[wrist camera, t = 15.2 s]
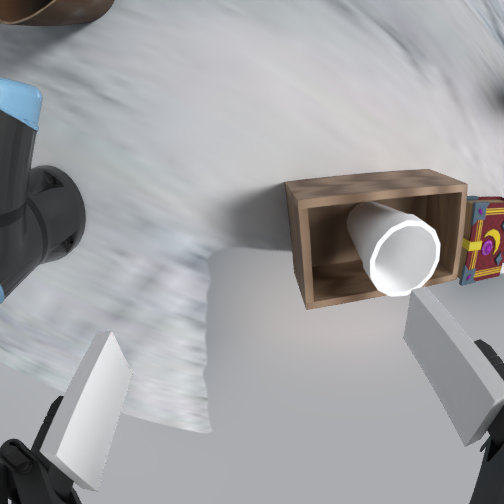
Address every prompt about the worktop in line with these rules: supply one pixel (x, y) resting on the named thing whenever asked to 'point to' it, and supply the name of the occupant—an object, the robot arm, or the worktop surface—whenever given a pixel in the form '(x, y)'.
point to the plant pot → (52, 11)
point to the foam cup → (393, 247)
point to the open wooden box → (340, 243)
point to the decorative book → (482, 239)
